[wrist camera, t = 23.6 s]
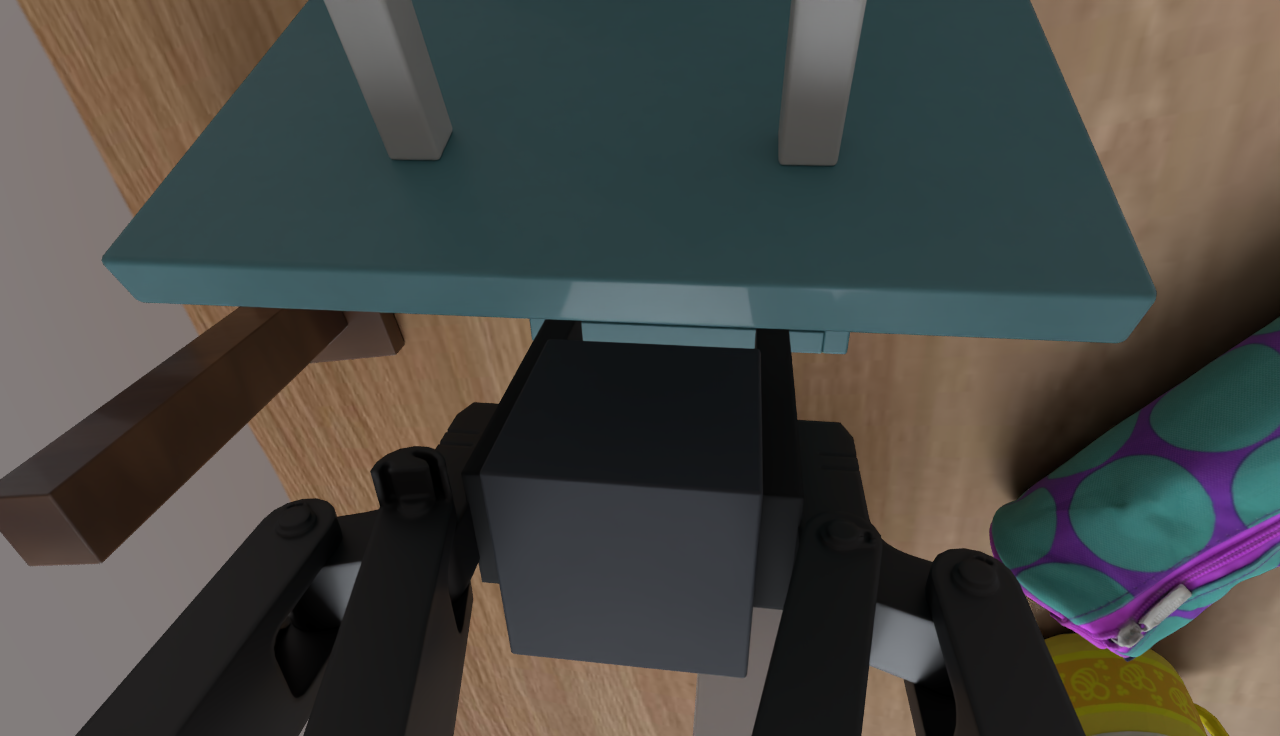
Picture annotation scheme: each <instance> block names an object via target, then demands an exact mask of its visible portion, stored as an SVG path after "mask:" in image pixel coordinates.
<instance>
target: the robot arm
mask: <svg viewBox="0 0 1280 736" xmlns="http://www.w3.org/2000/svg"><path fill="white" fill-rule="evenodd" d="M549 339H557V340H578V341H583V336H582V322H581V321H575V320H551V319H545V321H544V322H543V324H542V326H541V328H540V330H539V332H538V333H537V335H536V337H535V339H534V341H533V342H532V344H531V346H530V348H529V350H528V352H527V353H526V355H525V357H524V359H523V361H522V363H521V364H520V366H519V368H518V370H517V372H516V374H515V375H514V377H513V379H512V381H511V383H510V384H509V386H508V388H507V390H506V392H505V394H504V395H503V397H502V399H501V401H500V403H499V404H494V403H477V402H474V403H472V404H471V405H469V406H468V407H467V408H465V409H464V410H463V411H461V412H460V413H459V414H457V415H456V417H455V419H454V420H453V422H452V423H451V425H450V427H449V428H448V432H446V433H445V435H444V436H443V438H442V439H441V441H440V445H439V444H438V446H437V447H436V449H432V448H430V447H421V446H413V447H408V448H402V449H399V450H396V451H394V452H392V453H389V454H387V455H386V456H384V457H383V458H382V459H380V460H379V461H377V462H376V464H375V465H374V467H373V468H372V470H371V471H370V472H371V475H372V479H373V483H374V486H375V490H376V493H377V497H378V500H379V504H380V508H379V509H378V510H374V511H369V512H364V513H358V514H352V515H345V516H339V517H337V515H336V512H335V509H334V507H333V506H332V505H331V504H330V503H329V502H328V501H324V500H320V499H317V498H315V499H301V500H297V501H294V502H290V503H287V504H285V505H283V506H282V507H279V508H277V509H276V510H274V511H273V512H271V513H270V514H269V515H268V516H267V517H266V518H264V519H263V520H262V522H261V523H260V524H259V525H258V526H257V527H256V529H255V530H254V531H253V532H252V533H251V534H250V535H249V536H248V538H247V539H246V540H245V541H244V542H243V544H242V545H241V546H240V547H239V548H238V549H237V550H236V551H235V553H234V554H233V555H232V556H231V557H230V558H229V560H228V561H227V562H226V563H225V564H224V565H223V566H222V567H221V569H220V570H219V571H218V572H217V573H216V574H215V576H214V577H213V578H212V579H211V580H210V581H209V582H208V584H207V585H206V586H205V587H204V588H203V589H202V591H201V592H200V593H199V594H198V595H197V596H196V597H195V599H194V600H193V601H192V602H191V603H190V604H189V606H188V607H187V608H186V609H185V610H184V611H183V612H182V613H181V615H180V616H179V617H178V618H177V619H176V620H175V622H174V623H173V624H172V625H171V626H170V628H168V630H167V631H166V632H165V633H164V634H163V635H162V637H161V638H160V639H159V640H158V641H157V642H156V643H155V645H154V646H153V647H152V648H151V649H150V650H149V651H148V653H147V654H146V655H145V656H144V657H143V658H142V660H141V661H140V662H139V663H138V664H137V665H136V666H135V668H134V669H133V670H132V671H131V672H130V673H129V675H128V676H127V677H126V678H125V679H124V680H123V681H122V683H121V684H120V685H119V686H118V687H117V688H116V690H115V691H114V692H113V693H112V694H111V695H110V696H109V698H108V699H107V700H106V701H105V702H104V703H103V704H102V706H101V707H100V708H99V709H98V710H97V711H96V712H95V714H94V715H93V716H92V717H91V718H90V719H89V721H88V722H87V723H86V724H85V725H84V726H83V727H82V729H81V730H80V731H79V732H78V733H77V734H76V735H75V736H299V734H300V733H301V731H302V729H303V727H304V726H305V724H306V722H307V721H308V724H307V726H306V729H305V732H304V736H453V735H454V728H455V721H456V714H457V707H458V700H459V693H460V687H461V680H462V673H463V666H464V659H465V652H466V645H467V638H468V632H469V625H470V618H471V611H472V604H473V593H472V586H471V582H470V580H471V578H472V576H473V573H474V571H475V569H476V567H477V564H478V563H479V568H480V573H481V578H482V582H488V583H498V584H499V579H498V574H497V568H496V562H495V557H494V551H493V545H492V540H491V534H490V529H489V523H488V517H487V512H486V506H485V501H484V495H483V489H482V484H481V478H480V471H481V469H482V467H483V465H484V463H485V461H486V459H487V457H488V455H489V453H490V451H491V449H492V447H493V445H494V443H495V441H496V440H497V438H498V436H499V434H500V432H501V430H502V428H503V426H504V424H505V422H506V420H507V418H508V416H509V414H510V412H511V410H512V408H513V406H514V404H515V402H516V401H517V399H518V397H519V395H520V393H521V391H522V389H523V387H524V385H525V383H526V381H527V379H528V377H529V375H530V373H531V371H532V369H533V367H534V365H535V364H536V362H537V360H538V358H539V356H540V354H541V352H542V350H543V348H544V346H545V344H546V342H547V340H549ZM754 349H759V350H760V352H761V402H762V461H763V500H762V511H761V523H760V534H759V546H758V557H757V568H756V580H755V591H754V603H753V607H756V608H767V609H777V610H783V611H782V615H781V619H780V624H779V628H778V632H777V636H776V640H775V644H774V648H773V652H772V656H771V660H770V664H769V668H768V672H767V676H766V680H765V684H764V688H763V692H762V696H761V700H760V704H759V708H758V712H757V716H756V720H755V724H754V728H753V732H752V736H861V733H862V725H863V716H864V707H865V698H866V689H867V680H868V671H869V666H872V667H874V668H877V669H880V670H882V671H885V672H887V673H890V674H892V675H895V676H898V677H900V678H903V679H904V683H905V687H906V692H907V696H908V701H909V705H910V710H911V714H912V719H913V723H914V728H915V732H916V736H1086V735H1085V732H1084V730H1083V728H1082V725H1081V723H1080V721H1079V719H1078V716H1077V714H1076V712H1075V709H1074V707H1073V705H1072V702H1071V700H1070V698H1069V696H1068V693H1067V691H1066V689H1065V686H1064V684H1063V682H1062V680H1061V677H1060V675H1059V673H1058V670H1057V668H1056V666H1055V663H1054V661H1053V659H1052V657H1051V654H1050V652H1049V650H1048V647H1047V645H1046V643H1045V640H1044V638H1043V636H1042V634H1041V631H1040V629H1039V627H1038V624H1037V622H1036V620H1035V617H1034V615H1033V613H1032V611H1031V608H1030V606H1029V604H1028V601H1027V599H1026V597H1025V594H1024V592H1023V590H1022V588H1021V585H1020V583H1019V581H1018V580H1017V578H1016V577H1015V575H1014V574H1013V573H1012V571H1011V570H1010V569H1009V568H1008V567H1007V566H1005V565H1004V564H1003V563H1001V562H1000V561H999V560H998V559H996V558H994V557H991V556H989V555H987V554H985V553H983V552H980V551H975V550H970V549H965V548H962V549H949V550H947V551H945V552H943V553H941V554H938V555H937V557H936V558H935V560H934V561H933V562H931V561H928V560H924V559H921V558H918V557H915V556H912V555H909V554H907V553H904V552H902V551H899V550H897V549H895V548H894V547H892V546H890V545H889V544H887V543H886V542H885V541H884V540H883V539H881V535H880V534H879V532H878V531H877V530H876V528H875V527H874V526H873V525H872V524H871V523H870V520H869V515H868V510H867V505H866V500H865V495H864V490H863V485H862V480H861V475H860V471H859V465H858V460H857V458H856V450H855V445H854V440H853V437H852V436H851V435H850V434H849V432H848V431H847V430H846V429H845V428H844V427H843V425H842V424H841V423H839V422H822V421H806V420H797V411H796V399H795V388H794V377H793V366H792V355H791V344H790V333H789V329H766V328H756V333H755V348H754ZM308 719H309V720H308Z"/></svg>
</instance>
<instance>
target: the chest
mask: <svg viewBox="0 0 1280 736" xmlns="http://www.w3.org/2000/svg"><path fill="white" fill-rule="evenodd" d="M544 321H545V319H530V326H531V335H532V340H534V339H535V337H536V335H537V333H538V332H539V330H540V328H541V326H542V324H543V322H544ZM581 322H582V336H583V341H599V342H620V343H642V344H663V345H684V346H705V347H727V348H748V349H754V348H755V333H756V328H742V327H718V326H695V325H671V324H647V323H623V322H599V321H581ZM789 333H790V344H791V352H800V353H821V352H823V353H831V354H846V353H847V349H848V342H849V336H850V332H838V331H814V330H790V329H789Z"/></svg>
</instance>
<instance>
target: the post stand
mask: <svg viewBox="0 0 1280 736" xmlns="http://www.w3.org/2000/svg"><path fill="white" fill-rule="evenodd" d="M404 345H405V343H404V341H403V338H402V336H401V333H400V331H399V328H398V325H397V323H396V320H395V318H394V315H393V313H384V312H360V311H337V310H313V309H289V308H265V307H241V306H240V307H239V308H237V309H236V310H235V311H233V312H232V313H230V314H229V315H228V316H226V317H225V318H223V319H222V320H221V321H219V322H218V323H217V324H215V325H214V326H212V327H211V328H210V329H208V330H207V331H205V332H204V333H203V334H201V335H200V336H199V337H197V338H196V339H194V340H193V341H192V342H190V343H189V344H188V345H186V346H185V347H183V348H182V349H181V350H179V351H178V352H176V353H175V354H174V355H172V356H171V357H169V358H168V359H167V360H165V361H164V362H162V363H161V364H160V365H159V366H157V367H156V368H154V369H153V370H151V371H150V372H149V373H147V374H146V375H144V376H143V377H142V378H141V379H139V380H138V381H136V382H135V383H133V384H132V385H131V386H129V387H128V388H127V389H125V390H124V391H122V392H121V393H119V394H118V395H117V396H115V397H114V398H113V399H111V400H110V401H109V402H107V403H106V404H104V405H103V406H102V407H100V408H99V409H98V410H96V411H95V412H93V413H92V414H90V415H89V416H88V417H86V418H85V419H83V420H82V421H81V422H79V423H78V424H77V425H75V426H74V427H72V428H71V429H70V430H68V431H67V432H65V433H64V434H63V435H61V436H60V437H59V438H57V439H56V440H55V441H53V442H52V443H50V444H49V445H48V446H46V447H45V448H43V449H42V450H40V451H39V452H38V453H36V454H35V455H34V456H32V457H31V458H29V459H28V460H27V461H25V462H24V463H22V464H21V465H20V466H18V467H17V468H16V469H14V470H13V471H11V472H10V473H9V474H7V475H6V476H5V477H3V478H2V479H0V532H1V533H2V534H3V536H4V537H5V538H6V539H7V540H8V541H9V543H10V544H11V545H12V546H13V548H14V549H15V550H16V551H17V552H18V554H19V555H20V556H21V557H22V558H23V559H24V561H25V562H26V563H27V564H28V565H29V566H52V565H80V564H100V563H102V562H104V561H105V560H106V559H107V558H108V557H109V556H110V555H111V554H112V553H113V552H114V551H115V550H116V549H117V548H118V547H119V546H120V545H121V544H122V543H123V542H124V541H125V540H126V539H127V538H128V537H130V535H132V534H133V533H134V532H135V531H136V530H137V529H138V528H139V527H140V526H141V525H142V524H143V523H144V522H145V521H146V520H147V519H148V518H149V517H150V516H151V515H152V514H153V513H154V512H156V511H157V509H159V508H160V507H161V506H162V505H163V504H164V503H165V502H166V501H167V500H168V499H169V498H170V497H171V496H172V495H173V494H174V493H175V492H176V491H177V490H178V489H179V488H180V487H181V486H182V485H184V484H185V483H186V482H187V481H188V480H189V479H190V478H191V476H193V475H194V474H195V473H196V472H197V471H198V470H199V469H200V468H201V467H202V466H203V465H204V464H205V463H206V462H207V461H208V460H209V459H210V458H212V457H213V455H215V454H216V452H218V451H219V450H220V449H221V448H222V447H223V446H224V445H225V444H226V443H227V442H228V441H229V440H230V439H231V438H232V437H233V436H234V435H235V434H236V433H237V432H239V431H240V430H241V429H242V428H243V427H244V426H245V425H246V424H247V423H248V422H249V421H250V420H251V419H252V418H253V417H254V416H255V415H256V414H257V413H258V412H259V411H260V410H261V409H262V408H263V407H265V406H266V405H267V404H268V403H269V402H270V401H271V400H272V399H273V398H274V397H275V396H276V395H277V394H278V393H279V392H280V391H281V390H282V389H283V388H284V387H285V386H286V385H287V384H288V383H289V382H290V381H292V380H293V379H294V378H295V377H296V376H297V375H298V374H299V373H300V372H301V371H302V370H303V369H304V368H305V367H306V366H307V365H308V364H309V363H319V362H329V361H339V360H349V359H359V358H370V357H380V356H390V355H396V354H397V353H398V352H399V351H400V350H401V348H402V347H403V346H404Z"/></svg>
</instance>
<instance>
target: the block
mask: <svg viewBox="0 0 1280 736" xmlns="http://www.w3.org/2000/svg"><path fill="white" fill-rule="evenodd" d="M480 478H481V484H482V489H483V495H484V501H485V506H486V512H487V517H488V523H489V529H490V534H491V540H492V545H493V551H494V557H495V562H496V568H497V574H498V579H499V585H500V590H501V596H502V602H503V607H504V613H505V619H506V624H507V630H508V635H509V641H510V647H511V652H512V653H514V654H520V655H530V656H539V657H549V658H558V659H567V660H577V661H586V662H596V663H605V664H615V665H624V666H633V667H643V668H652V669H662V670H671V671H681V672H690V673H699V674H709V675H718V676H728V677H737V678H745V677H746V676H747V671H748V660H749V648H750V637H751V625H752V614H753V603H754V591H755V580H756V568H757V557H758V546H759V534H760V523H761V511H762V500H763V461H762V402H761V352H760V350H759V349H748V348H727V347H705V346H684V345H663V344H642V343H620V342H599V341H578V340H557V339H549V340H547V342H546V344H545V346H544V348H543V350H542V352H541V354H540V356H539V358H538V360H537V362H536V364H535V365H534V367H533V369H532V371H531V373H530V375H529V377H528V379H527V381H526V383H525V385H524V387H523V389H522V391H521V393H520V395H519V397H518V399H517V401H516V402H515V404H514V406H513V408H512V410H511V412H510V414H509V416H508V418H507V420H506V422H505V424H504V426H503V428H502V430H501V432H500V434H499V436H498V438H497V440H496V441H495V443H494V445H493V447H492V449H491V451H490V453H489V455H488V457H487V459H486V461H485V463H484V465H483V467H482V469H481V471H480Z"/></svg>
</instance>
